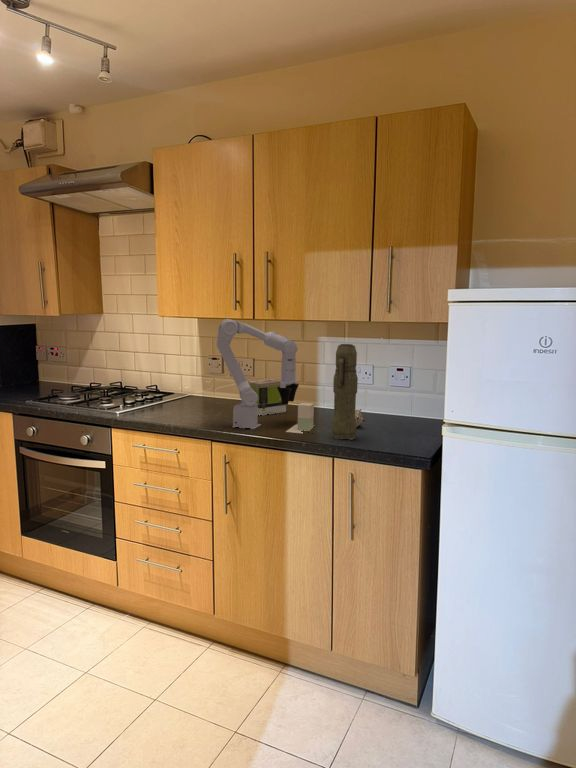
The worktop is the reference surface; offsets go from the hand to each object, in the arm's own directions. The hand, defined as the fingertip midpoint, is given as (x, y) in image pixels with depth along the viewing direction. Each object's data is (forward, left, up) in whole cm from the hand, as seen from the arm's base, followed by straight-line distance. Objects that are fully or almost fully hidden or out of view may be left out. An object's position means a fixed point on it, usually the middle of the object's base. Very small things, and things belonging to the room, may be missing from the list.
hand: (288, 402), depth 218 cm
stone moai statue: (+26, -12, -10) cm, 30 cm away
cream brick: (+9, -5, -4) cm, 11 cm away
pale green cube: (+9, -5, -9) cm, 14 cm away
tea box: (-17, +21, -10) cm, 29 cm away
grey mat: (+9, -5, -9) cm, 14 cm away
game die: (+26, +6, -10) cm, 28 cm away
